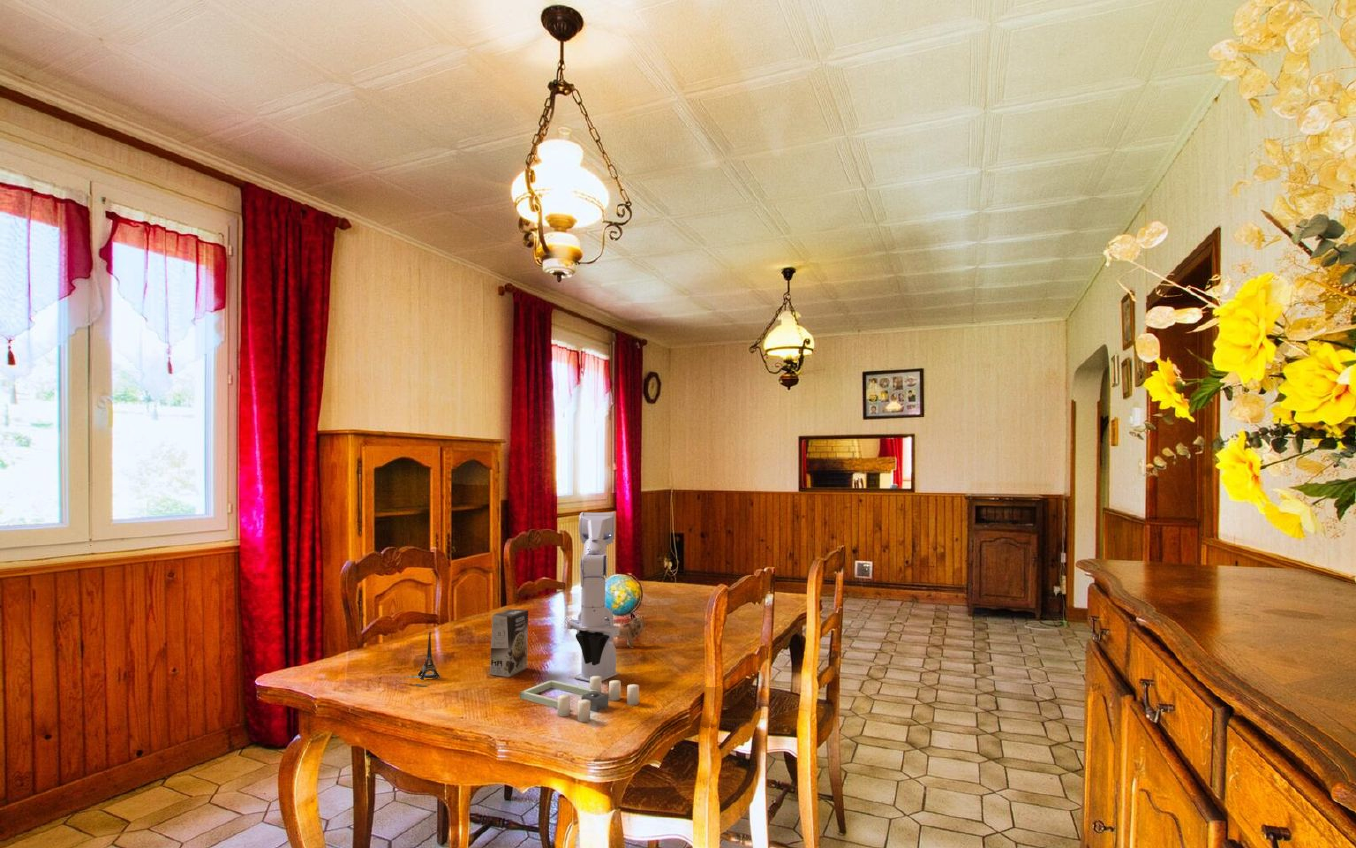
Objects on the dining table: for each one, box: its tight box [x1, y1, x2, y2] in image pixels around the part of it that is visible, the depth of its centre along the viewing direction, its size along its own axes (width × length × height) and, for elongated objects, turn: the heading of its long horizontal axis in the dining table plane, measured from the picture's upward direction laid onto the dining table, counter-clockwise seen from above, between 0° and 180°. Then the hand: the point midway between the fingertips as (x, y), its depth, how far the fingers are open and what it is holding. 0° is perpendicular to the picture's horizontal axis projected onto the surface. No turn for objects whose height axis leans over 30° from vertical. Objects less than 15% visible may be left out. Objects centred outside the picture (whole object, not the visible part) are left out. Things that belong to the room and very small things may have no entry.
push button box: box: [580, 691, 609, 713], centre depth 155 cm, size 4×4×3 cm
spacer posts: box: [557, 676, 640, 723], centre depth 154 cm, size 17×14×4 cm
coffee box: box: [489, 608, 529, 678], centre depth 182 cm, size 9×6×16 cm
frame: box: [519, 679, 595, 709], centre depth 161 cm, size 11×15×2 cm
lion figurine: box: [614, 616, 645, 649], centre depth 207 cm, size 15×5×9 cm, turn 103°
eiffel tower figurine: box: [405, 631, 442, 687], centre depth 177 cm, size 15×10×13 cm
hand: (592, 663), depth 156 cm, fingers closed
